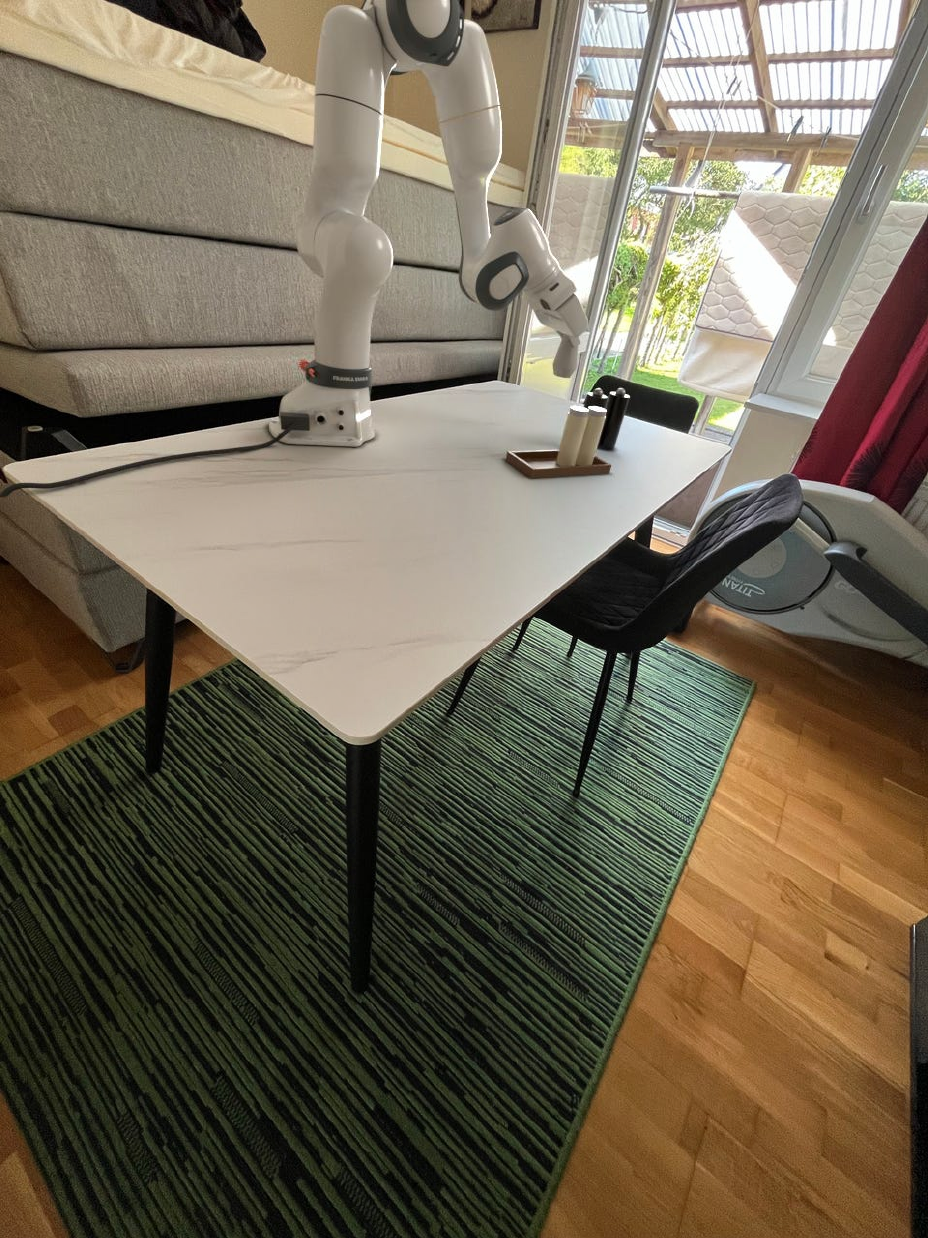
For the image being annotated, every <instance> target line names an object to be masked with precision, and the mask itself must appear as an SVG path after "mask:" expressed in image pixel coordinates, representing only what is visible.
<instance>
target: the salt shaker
mask: <svg viewBox="0 0 928 1238" xmlns="http://www.w3.org/2000/svg"><path fill="white" fill-rule="evenodd" d="M578 338H579V339H580V336H579V337H578ZM569 340H570V339H569V337H568V336H567V334H565V333H564V335H563V338H562V339H561V341H560V343H559V345H558V348H557V351H556V353H555V356H554V358H553V361H552V374H553V375H554V376H556V377H558V378H563V379H571V377H572V376H573V375H574V373H575V371H577V366H578V355H579V354H578V353H579V345H578V346H577V347H576V348H574V347H573V346H572V345H571V343H570V342H569Z"/></svg>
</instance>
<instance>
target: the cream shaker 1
mask: <svg viewBox="0 0 928 1238" xmlns="http://www.w3.org/2000/svg"><path fill="white" fill-rule="evenodd" d="M583 407H584V406H578V405H571V406H570V408H569V411H568V412H567V416H566V420H565V424H564V428H563V432H562V436H561V440H560V443H559V448H558V450H559V451H558V455H557V460H556V464H557V465H559V466H575V464H576V460H577V457H578V453H579V449H580V446H581V442H582V438H583V435H584V431H585V427H586V423H587V420H588V413H589V410H588V409H586V408H583Z"/></svg>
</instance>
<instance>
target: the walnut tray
mask: <svg viewBox="0 0 928 1238" xmlns="http://www.w3.org/2000/svg"><path fill="white" fill-rule="evenodd" d="M558 451H559V449H537V450H536V449H534V450H533V449H532V450H508V451H506V456H505V461H506V462H508V463H509V464H510V465H512V466H513V467H514V468H516V469H517V470H519V471H520V472H521V473H523V474H524V475H525V476H527V477H528V478H530V479H544V478H545V479H547V478H560V477H562V478H563V477H578V476H592V475H593V476H594V475H606V474H607V475H609V474H610V472H611V469H612V464H611V463H609V462H607V461H605V460H603V459H602V458H600V457H598V456H596V455H595V457H594V460H593V463H592V465H580V466H579V465H576V464H575V466H559V465H557V464H556V460H557V455H558Z"/></svg>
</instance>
